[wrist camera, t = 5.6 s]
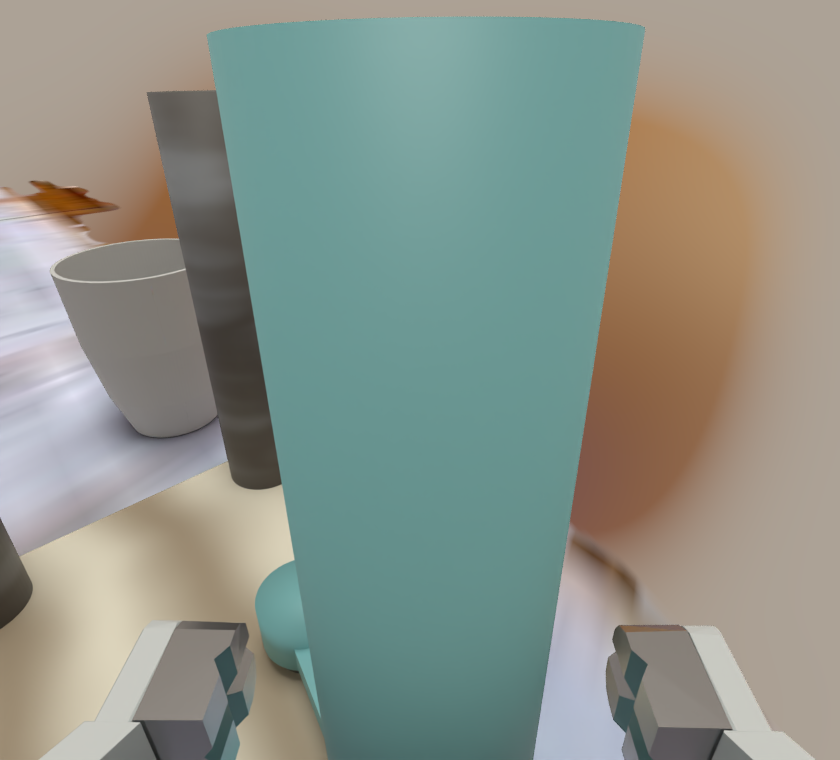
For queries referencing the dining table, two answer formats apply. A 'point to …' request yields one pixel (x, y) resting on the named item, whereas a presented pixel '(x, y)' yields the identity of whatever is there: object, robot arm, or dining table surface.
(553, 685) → the dining table surface
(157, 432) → the cup
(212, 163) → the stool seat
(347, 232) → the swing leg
